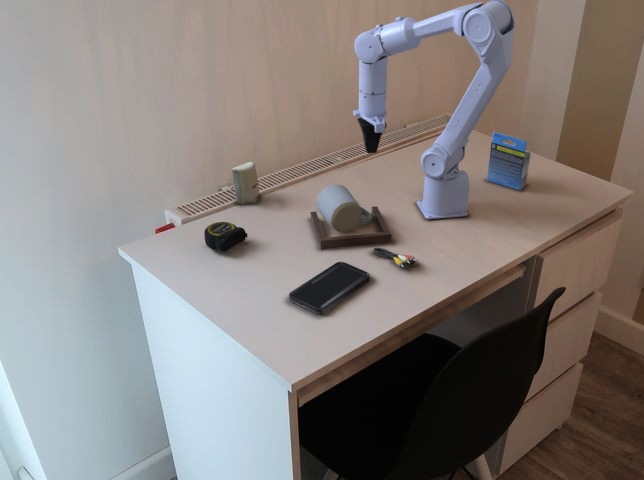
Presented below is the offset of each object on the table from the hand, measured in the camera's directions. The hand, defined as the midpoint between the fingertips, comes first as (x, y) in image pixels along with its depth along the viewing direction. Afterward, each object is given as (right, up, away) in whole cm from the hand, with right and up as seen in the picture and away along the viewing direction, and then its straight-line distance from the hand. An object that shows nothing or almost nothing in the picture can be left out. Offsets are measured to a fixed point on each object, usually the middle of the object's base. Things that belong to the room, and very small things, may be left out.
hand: (371, 151), depth 158 cm
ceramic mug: (-5, -17, -7) cm, 19 cm away
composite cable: (+6, -26, -17) cm, 31 cm away
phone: (-6, -32, -27) cm, 42 cm away
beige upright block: (-27, -11, 0) cm, 29 cm away
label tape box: (+31, -5, +12) cm, 34 cm away
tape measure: (-28, -23, -16) cm, 39 cm away
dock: (-4, -18, -9) cm, 21 cm away
